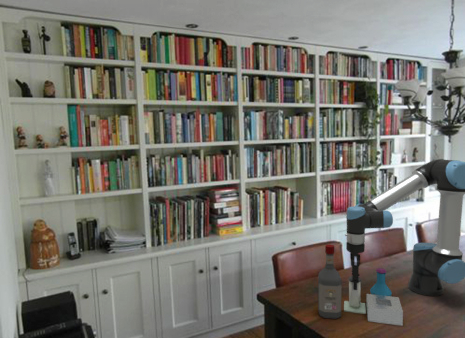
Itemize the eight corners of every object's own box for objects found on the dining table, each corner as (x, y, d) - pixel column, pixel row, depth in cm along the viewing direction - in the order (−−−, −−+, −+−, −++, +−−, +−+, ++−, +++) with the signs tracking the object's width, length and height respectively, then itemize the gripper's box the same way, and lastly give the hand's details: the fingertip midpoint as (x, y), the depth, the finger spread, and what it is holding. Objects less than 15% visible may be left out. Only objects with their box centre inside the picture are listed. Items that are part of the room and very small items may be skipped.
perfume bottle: (389, 307, 156) (390, 274, 155) (368, 302, 161) (368, 271, 159) (392, 299, 164) (393, 268, 162) (372, 294, 169) (372, 264, 167)
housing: (398, 310, 153) (398, 297, 153) (402, 325, 141) (402, 311, 140) (366, 306, 157) (366, 293, 157) (367, 321, 145) (368, 307, 144)
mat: (365, 304, 159) (365, 303, 159) (365, 314, 151) (365, 312, 151) (344, 301, 162) (344, 300, 162) (344, 311, 154) (344, 309, 154)
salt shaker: (360, 302, 158) (360, 276, 157) (361, 307, 153) (361, 281, 152) (348, 301, 160) (348, 275, 159) (348, 306, 155) (348, 280, 154)
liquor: (341, 319, 147) (342, 249, 144) (319, 318, 148) (319, 248, 145) (339, 309, 156) (339, 243, 153) (317, 307, 157) (318, 242, 154)
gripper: (346, 235, 163) (346, 284, 166) (346, 247, 146) (345, 301, 148) (363, 237, 161) (363, 285, 163) (365, 249, 144) (364, 303, 146)
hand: (354, 293), depth 156 cm, fingers closed on salt shaker, 5 cm apart
